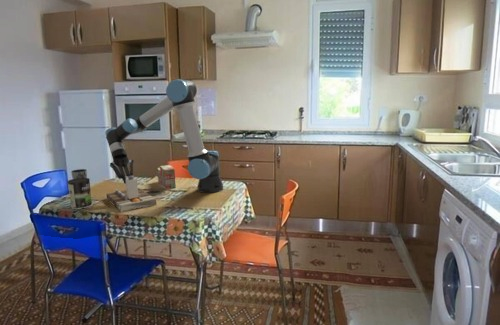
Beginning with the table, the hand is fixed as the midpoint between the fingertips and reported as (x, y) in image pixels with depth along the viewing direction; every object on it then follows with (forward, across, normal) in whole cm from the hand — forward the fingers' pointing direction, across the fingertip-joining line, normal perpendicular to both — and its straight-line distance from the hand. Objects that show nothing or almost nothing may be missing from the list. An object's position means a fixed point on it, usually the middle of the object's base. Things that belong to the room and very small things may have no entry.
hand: (129, 187), depth 195 cm
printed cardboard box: (-10, -29, -22) cm, 38 cm away
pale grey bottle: (+5, 0, -1) cm, 5 cm away
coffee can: (-1, +22, -13) cm, 26 cm away
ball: (+10, 0, +2) cm, 10 cm away
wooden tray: (+5, 0, -6) cm, 8 cm away
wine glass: (-15, +19, -28) cm, 37 cm away
